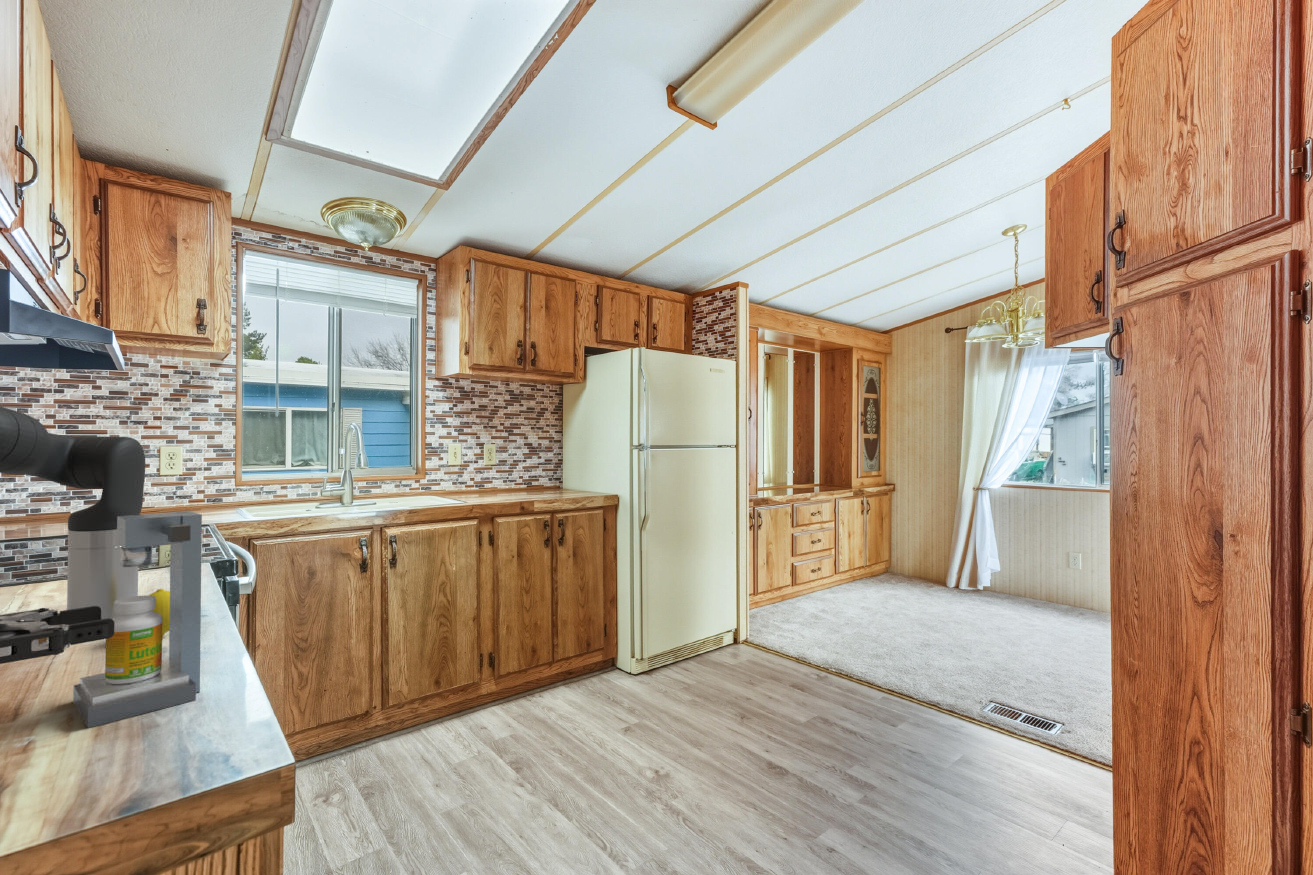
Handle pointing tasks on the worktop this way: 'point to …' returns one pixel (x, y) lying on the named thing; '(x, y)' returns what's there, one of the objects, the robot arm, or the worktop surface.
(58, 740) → the worktop surface
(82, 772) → the worktop surface
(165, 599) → the lemon
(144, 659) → the supplement bottle
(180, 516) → the arbor press
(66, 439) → the robot arm
